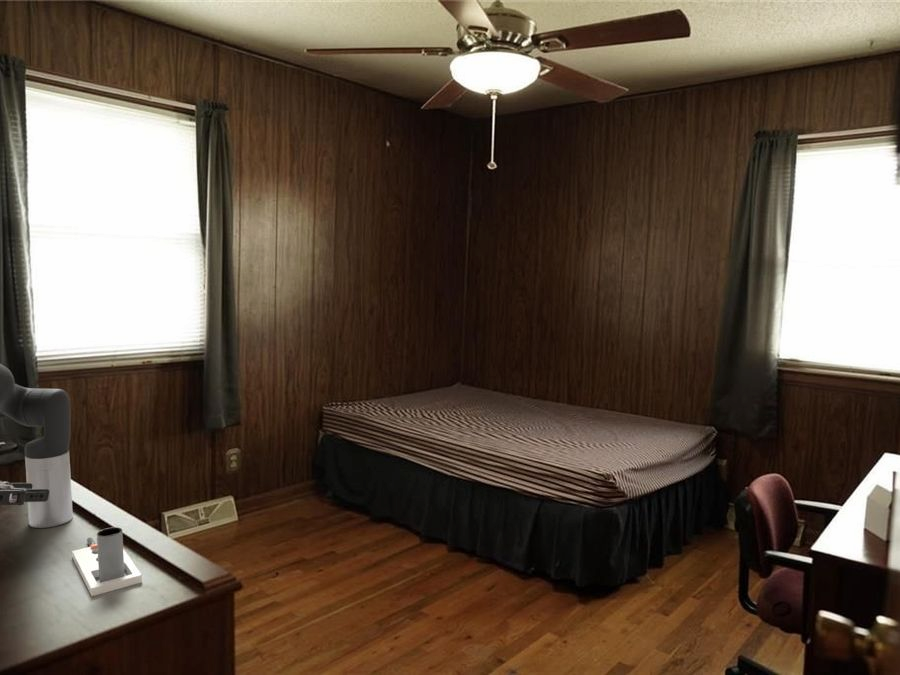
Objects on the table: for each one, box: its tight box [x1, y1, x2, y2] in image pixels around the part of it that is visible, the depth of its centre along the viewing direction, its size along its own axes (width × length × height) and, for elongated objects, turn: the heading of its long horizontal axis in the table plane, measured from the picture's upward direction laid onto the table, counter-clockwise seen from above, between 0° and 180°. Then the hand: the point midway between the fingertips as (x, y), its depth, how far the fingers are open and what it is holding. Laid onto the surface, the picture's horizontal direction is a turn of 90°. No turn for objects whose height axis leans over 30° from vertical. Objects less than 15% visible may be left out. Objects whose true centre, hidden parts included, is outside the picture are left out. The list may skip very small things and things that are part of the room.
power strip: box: [71, 537, 143, 597], centre depth 138 cm, size 27×9×2 cm, turn 39°
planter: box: [96, 526, 125, 583], centre depth 130 cm, size 4×4×10 cm
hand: (39, 492), depth 121 cm, fingers open, 8 cm apart
